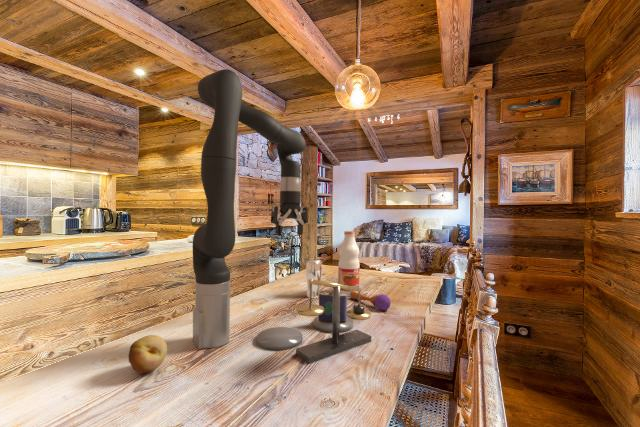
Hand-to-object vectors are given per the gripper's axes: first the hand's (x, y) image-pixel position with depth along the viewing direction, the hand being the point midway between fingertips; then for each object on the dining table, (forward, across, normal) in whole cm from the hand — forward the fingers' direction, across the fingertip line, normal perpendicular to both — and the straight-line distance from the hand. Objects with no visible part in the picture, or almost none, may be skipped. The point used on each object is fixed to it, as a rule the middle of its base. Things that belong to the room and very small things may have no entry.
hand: (289, 235), depth 111 cm
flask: (+27, +6, -18) cm, 33 cm away
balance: (+28, -4, -31) cm, 42 cm away
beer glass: (+28, +20, +12) cm, 37 cm away
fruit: (+28, -47, -15) cm, 57 cm away
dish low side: (+28, +6, -18) cm, 34 cm away
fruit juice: (+28, +35, +6) cm, 45 cm away
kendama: (+29, +32, -10) cm, 44 cm away
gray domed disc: (+28, -14, -18) cm, 36 cm away
